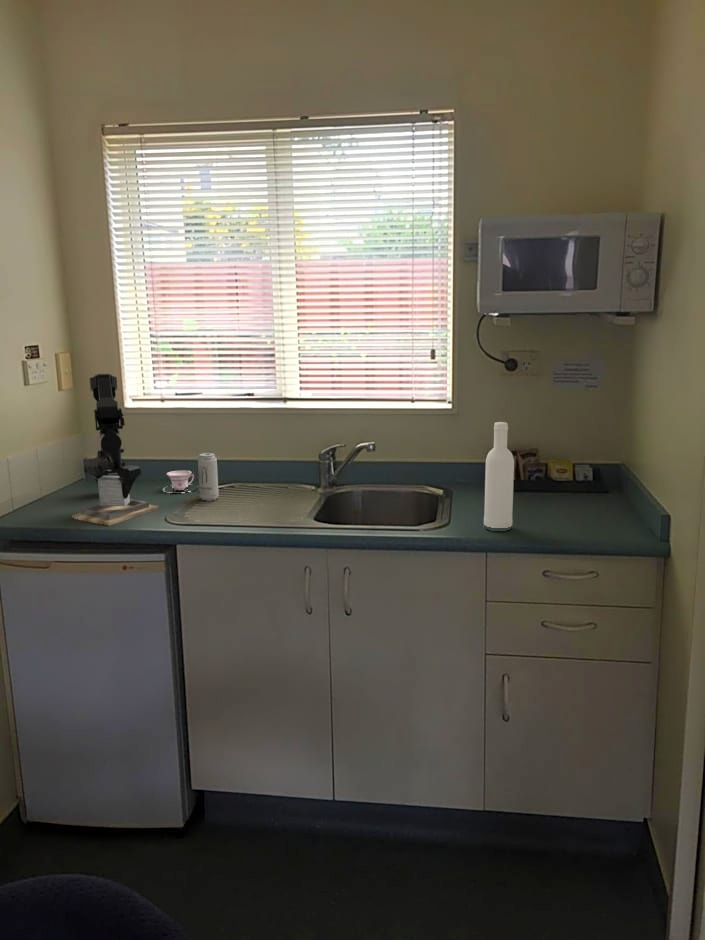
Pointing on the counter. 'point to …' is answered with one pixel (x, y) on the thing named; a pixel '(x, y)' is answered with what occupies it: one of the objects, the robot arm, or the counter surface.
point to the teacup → (179, 479)
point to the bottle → (499, 481)
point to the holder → (114, 512)
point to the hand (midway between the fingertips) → (114, 496)
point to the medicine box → (111, 492)
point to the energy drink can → (208, 476)
